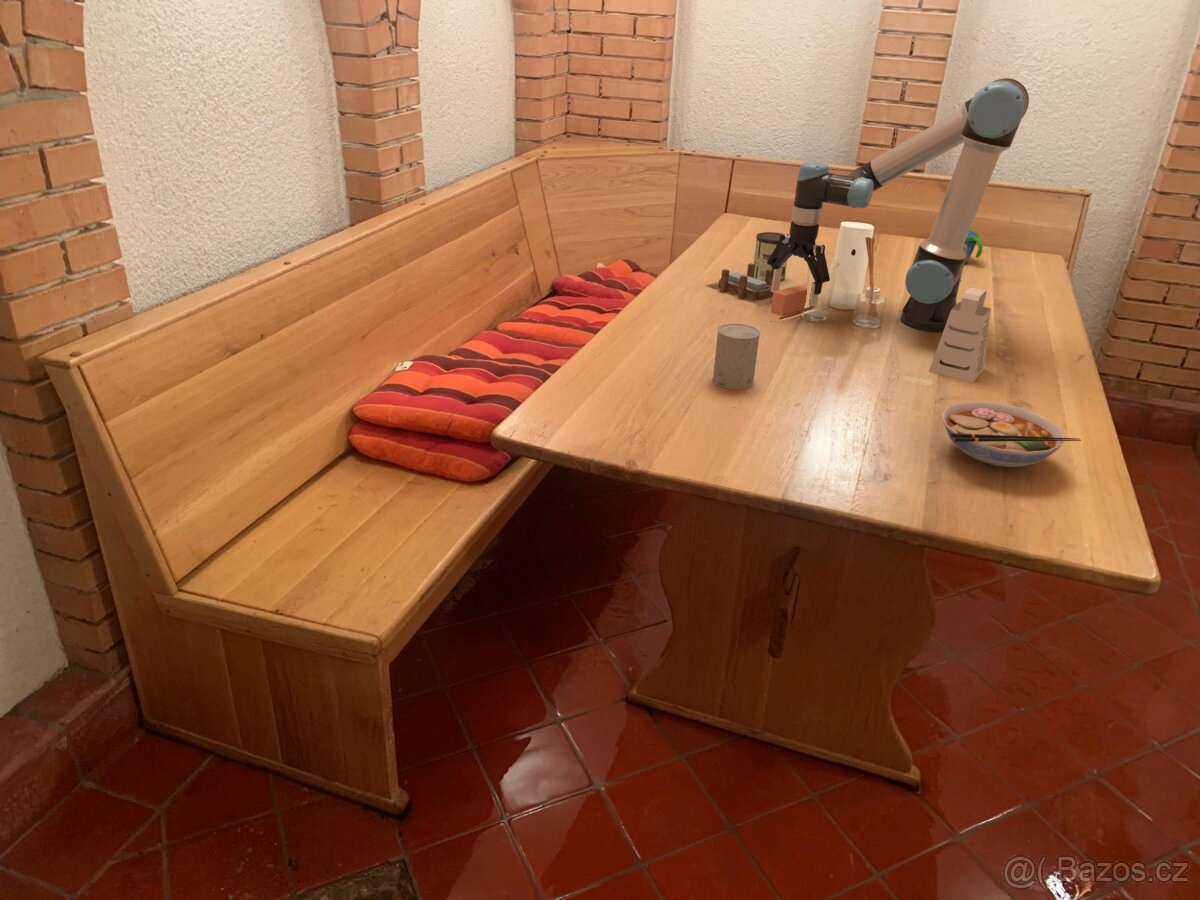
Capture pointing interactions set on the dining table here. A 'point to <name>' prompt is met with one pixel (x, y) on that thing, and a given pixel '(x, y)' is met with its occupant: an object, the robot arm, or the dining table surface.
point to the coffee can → (767, 254)
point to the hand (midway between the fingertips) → (793, 298)
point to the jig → (745, 287)
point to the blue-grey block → (748, 281)
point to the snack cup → (973, 244)
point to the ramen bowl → (1002, 433)
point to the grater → (964, 338)
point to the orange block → (789, 300)
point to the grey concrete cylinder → (736, 356)
